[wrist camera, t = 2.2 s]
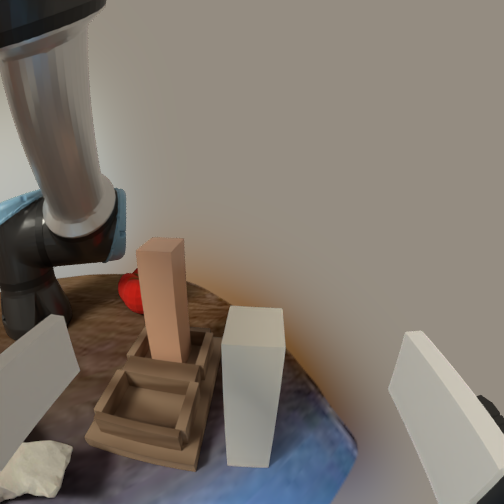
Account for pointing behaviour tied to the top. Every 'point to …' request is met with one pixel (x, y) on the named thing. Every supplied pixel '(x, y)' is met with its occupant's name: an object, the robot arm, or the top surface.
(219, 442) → the top surface
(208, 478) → the top surface
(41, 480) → the rock
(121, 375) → the rack
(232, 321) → the white rectangular block
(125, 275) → the tomato
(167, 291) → the salmon orange block
